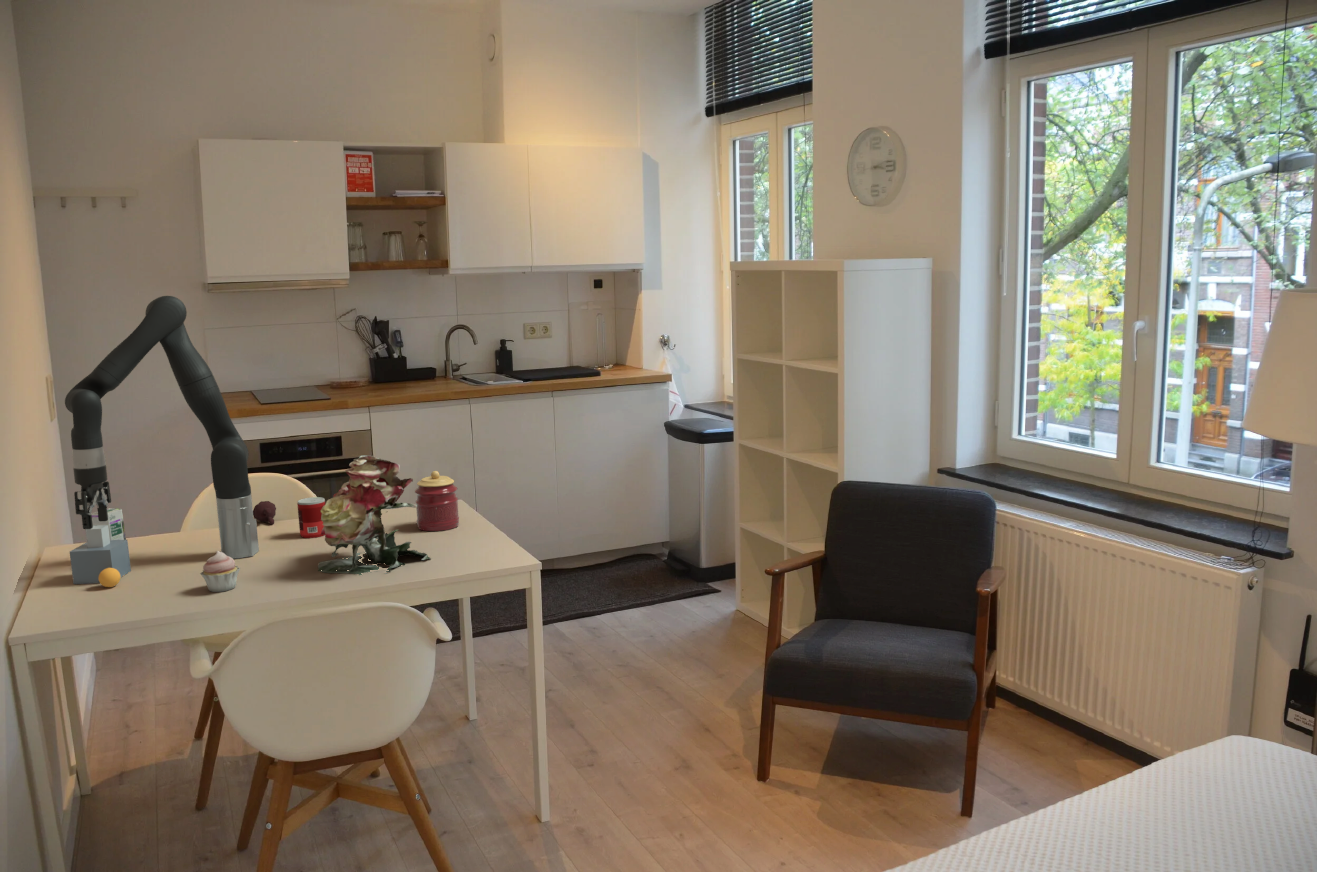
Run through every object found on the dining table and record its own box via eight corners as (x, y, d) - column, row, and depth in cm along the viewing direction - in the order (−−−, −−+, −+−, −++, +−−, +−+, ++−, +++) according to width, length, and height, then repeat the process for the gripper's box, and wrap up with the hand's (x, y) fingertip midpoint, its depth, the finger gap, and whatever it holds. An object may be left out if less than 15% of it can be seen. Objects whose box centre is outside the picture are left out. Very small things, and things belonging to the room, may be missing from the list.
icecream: (244, 500, 329) (255, 512, 317) (267, 491, 333) (278, 503, 320) (251, 518, 332) (262, 531, 320) (273, 510, 335) (285, 522, 323)
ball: (124, 583, 263) (122, 564, 262) (116, 589, 258) (114, 570, 257) (105, 584, 263) (102, 565, 262) (96, 590, 258) (93, 571, 257)
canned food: (332, 533, 309) (330, 498, 307) (311, 539, 302) (308, 503, 300) (316, 530, 313) (313, 495, 311) (294, 536, 306) (291, 501, 304)
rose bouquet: (359, 546, 293) (352, 445, 288) (440, 556, 281) (433, 450, 276) (292, 570, 271) (283, 461, 266) (377, 583, 258) (368, 468, 253)
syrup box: (114, 563, 282) (108, 513, 279) (96, 562, 283) (89, 512, 281) (128, 557, 287) (123, 508, 285) (110, 557, 289) (104, 507, 286)
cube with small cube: (130, 570, 274) (125, 521, 272) (113, 582, 264) (107, 531, 262) (92, 572, 273) (86, 523, 271) (73, 584, 263) (67, 532, 261)
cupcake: (214, 582, 262) (210, 545, 260) (248, 583, 261) (244, 545, 259) (194, 594, 253) (190, 555, 251) (229, 594, 252) (225, 555, 250)
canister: (426, 521, 321) (422, 466, 318) (465, 521, 320) (462, 466, 317) (410, 531, 309) (406, 475, 306) (451, 532, 307) (448, 475, 304)
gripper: (91, 469, 257) (97, 531, 260) (116, 459, 271) (122, 518, 274) (60, 470, 257) (67, 532, 259) (88, 460, 271) (94, 518, 273)
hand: (95, 524), depth 267 cm, fingers open, 8 cm apart
